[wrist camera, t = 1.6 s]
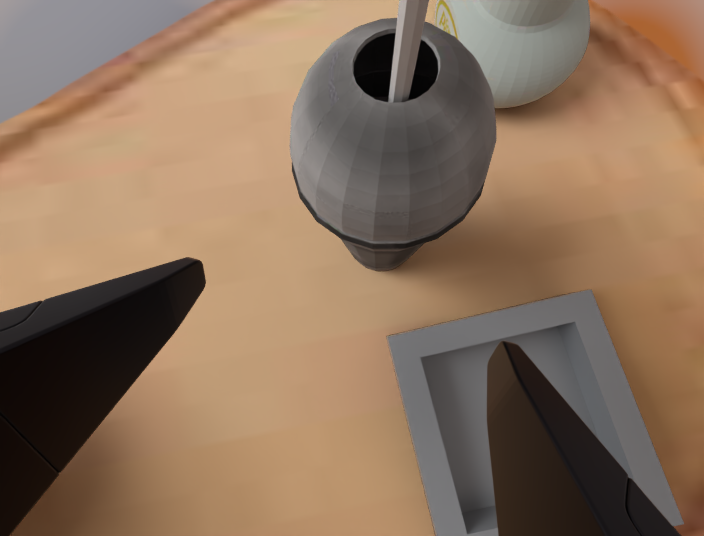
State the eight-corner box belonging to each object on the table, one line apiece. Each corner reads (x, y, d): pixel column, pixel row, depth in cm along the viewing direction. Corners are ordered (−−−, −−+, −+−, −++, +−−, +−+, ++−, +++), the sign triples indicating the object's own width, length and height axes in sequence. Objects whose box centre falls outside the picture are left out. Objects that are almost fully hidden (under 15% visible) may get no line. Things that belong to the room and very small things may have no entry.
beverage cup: (421, 187, 23) (676, -570, 4) (440, 282, 22) (1041, -139, 2) (326, 203, 24) (90, -424, 4) (338, 297, 22) (61, 44, 2)
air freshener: (424, 24, 26) (454, -159, 16) (521, 4, 26) (611, -194, 16) (454, 137, 24) (510, 3, 14) (561, 116, 24) (693, -34, 14)
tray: (642, 497, 18) (683, 523, 16) (437, 542, 19) (446, 575, 16) (565, 293, 21) (591, 289, 19) (386, 336, 21) (387, 336, 19)
